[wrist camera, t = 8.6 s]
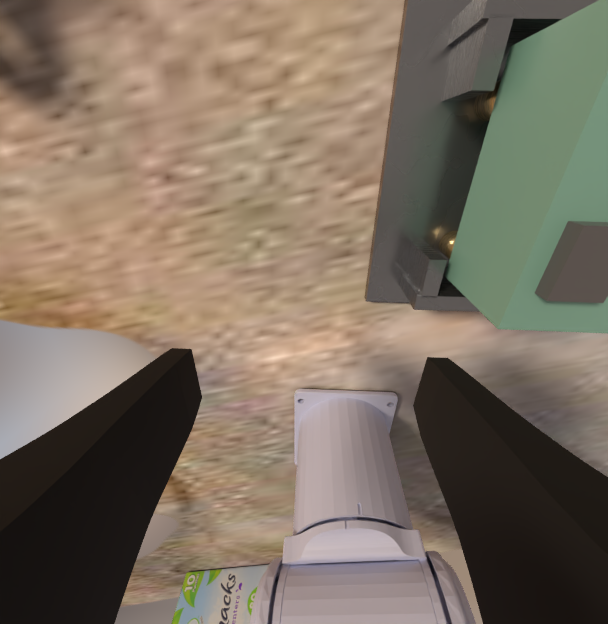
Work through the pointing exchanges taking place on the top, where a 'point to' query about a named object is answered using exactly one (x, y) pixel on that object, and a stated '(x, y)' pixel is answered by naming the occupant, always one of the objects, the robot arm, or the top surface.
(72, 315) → the top surface
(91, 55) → the top surface
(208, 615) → the snack box
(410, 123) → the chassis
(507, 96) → the green knobbed block
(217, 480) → the top surface
